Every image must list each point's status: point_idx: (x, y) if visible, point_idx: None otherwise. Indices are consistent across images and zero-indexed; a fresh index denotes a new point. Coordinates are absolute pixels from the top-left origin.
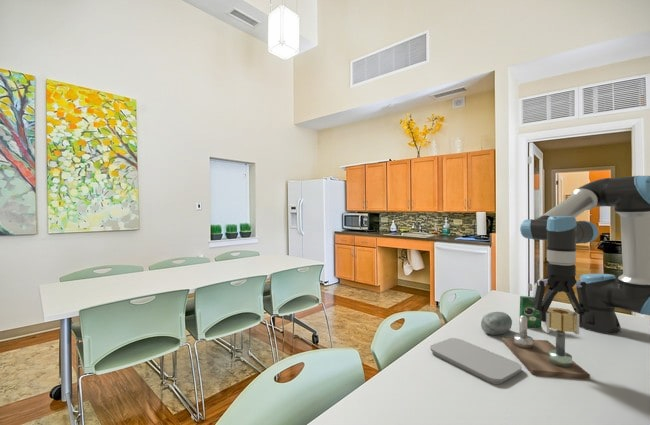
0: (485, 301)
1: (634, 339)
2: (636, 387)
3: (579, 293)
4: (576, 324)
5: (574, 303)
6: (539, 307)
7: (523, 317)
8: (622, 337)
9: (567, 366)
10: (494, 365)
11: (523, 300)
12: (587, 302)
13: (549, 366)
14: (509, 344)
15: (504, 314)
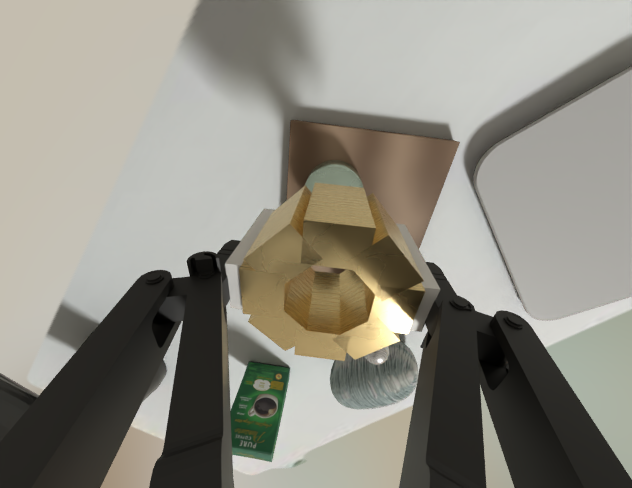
0: (296, 451)
1: (76, 312)
2: (185, 77)
3: (90, 457)
4: (272, 219)
5: (221, 335)
6: (516, 329)
7: (383, 352)
8: (97, 320)
9: (333, 160)
10: (578, 161)
11: (272, 443)
12: (96, 331)
13: (382, 168)
14: None
15: (350, 396)
